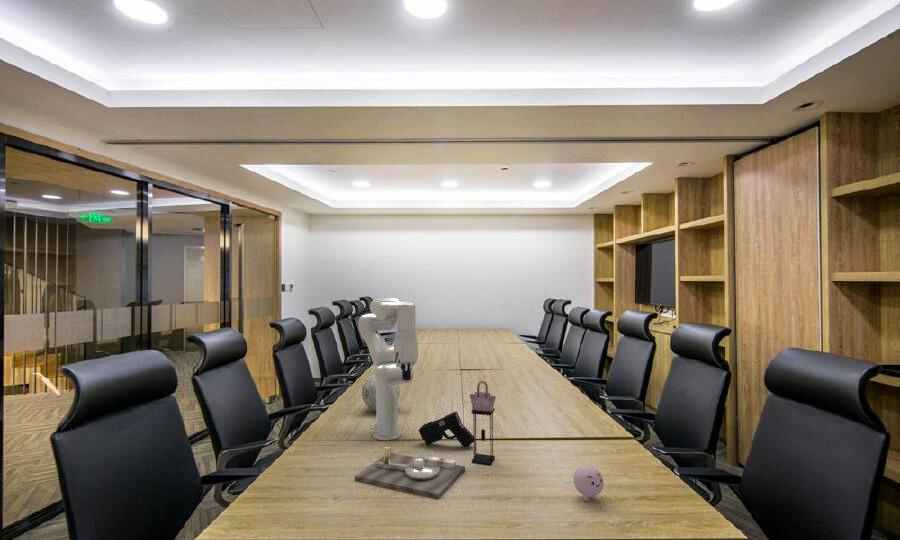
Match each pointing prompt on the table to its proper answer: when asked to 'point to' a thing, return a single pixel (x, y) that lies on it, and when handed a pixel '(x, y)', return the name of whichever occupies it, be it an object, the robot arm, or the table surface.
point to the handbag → (482, 406)
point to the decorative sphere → (373, 392)
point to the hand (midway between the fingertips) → (406, 379)
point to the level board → (404, 483)
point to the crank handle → (412, 466)
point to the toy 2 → (588, 481)
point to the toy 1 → (449, 422)
